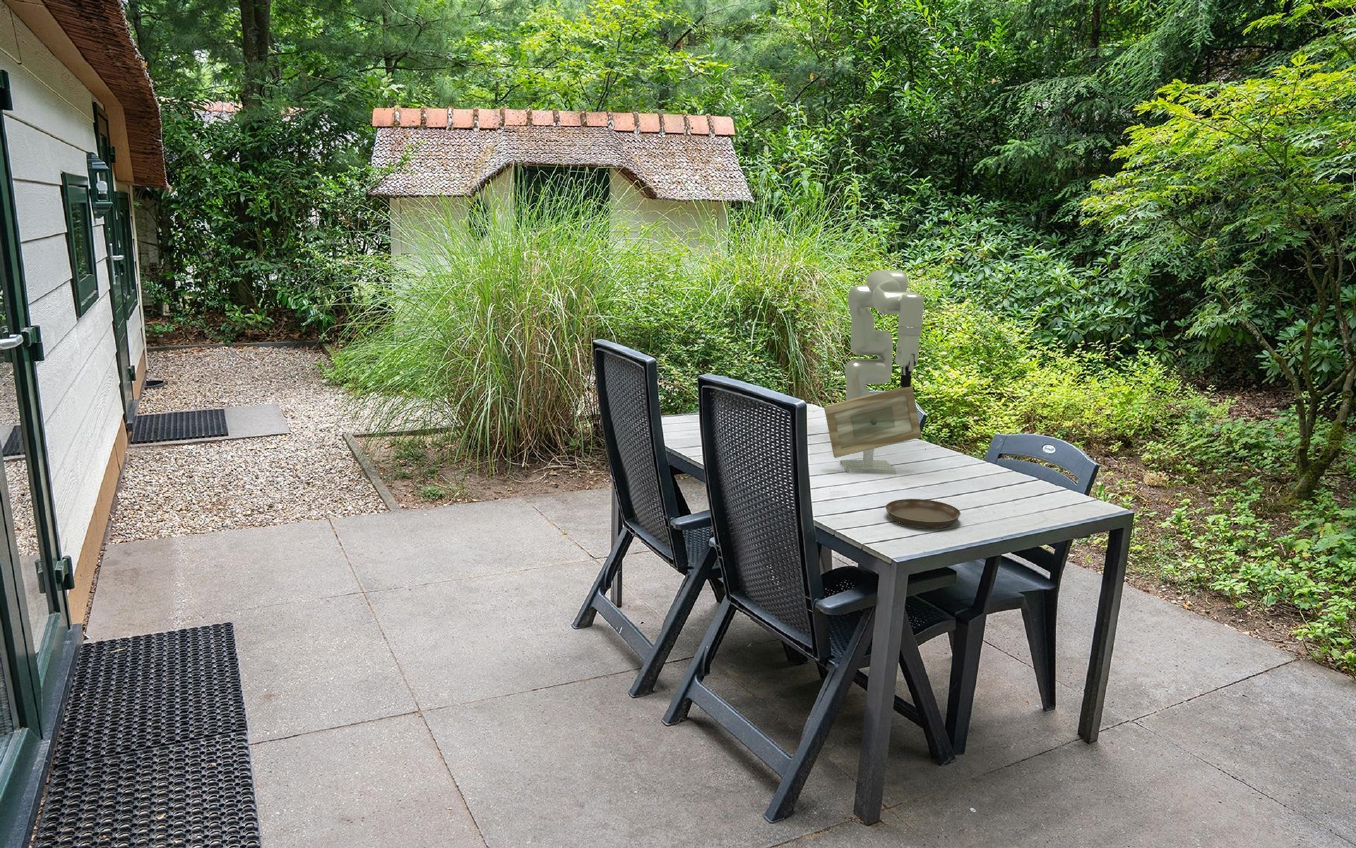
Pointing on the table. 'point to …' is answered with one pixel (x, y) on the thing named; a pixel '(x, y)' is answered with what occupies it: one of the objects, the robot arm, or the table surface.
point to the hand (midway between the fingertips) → (905, 386)
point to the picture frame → (872, 421)
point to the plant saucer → (922, 513)
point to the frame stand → (868, 465)
